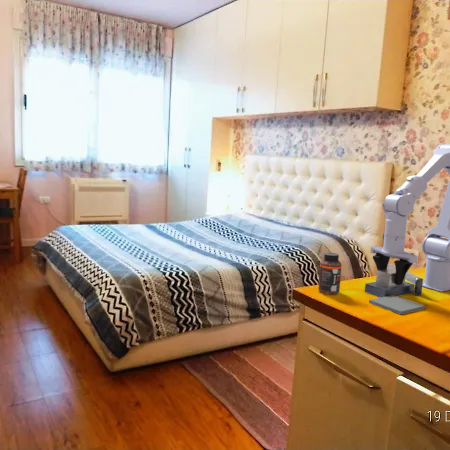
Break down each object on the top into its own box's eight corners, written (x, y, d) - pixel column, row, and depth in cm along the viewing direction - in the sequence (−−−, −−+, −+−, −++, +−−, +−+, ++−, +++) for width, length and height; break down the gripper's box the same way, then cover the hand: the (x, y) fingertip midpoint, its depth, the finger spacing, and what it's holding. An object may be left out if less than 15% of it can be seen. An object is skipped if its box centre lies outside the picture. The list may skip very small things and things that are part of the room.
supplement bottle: (339, 296, 125) (342, 256, 123) (318, 294, 126) (321, 255, 124) (338, 290, 130) (341, 252, 129) (318, 288, 131) (320, 250, 130)
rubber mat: (392, 297, 125) (393, 295, 125) (425, 308, 116) (425, 305, 116) (368, 302, 119) (369, 299, 119) (400, 314, 111) (400, 311, 111)
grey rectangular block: (391, 280, 133) (392, 267, 133) (404, 284, 129) (405, 271, 129) (375, 283, 130) (377, 270, 129) (388, 287, 126) (389, 273, 125)
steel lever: (391, 278, 145) (393, 264, 144) (422, 295, 127) (424, 279, 127) (386, 278, 145) (387, 264, 144) (416, 295, 127) (418, 279, 126)
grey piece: (393, 286, 136) (394, 278, 136) (413, 292, 130) (414, 284, 130) (364, 291, 129) (365, 283, 129) (384, 298, 124) (385, 290, 123)
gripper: (365, 232, 131) (361, 277, 133) (407, 241, 119) (402, 290, 121) (381, 231, 135) (377, 274, 137) (423, 239, 123) (418, 286, 125)
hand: (390, 281), depth 129 cm, fingers open, 5 cm apart
